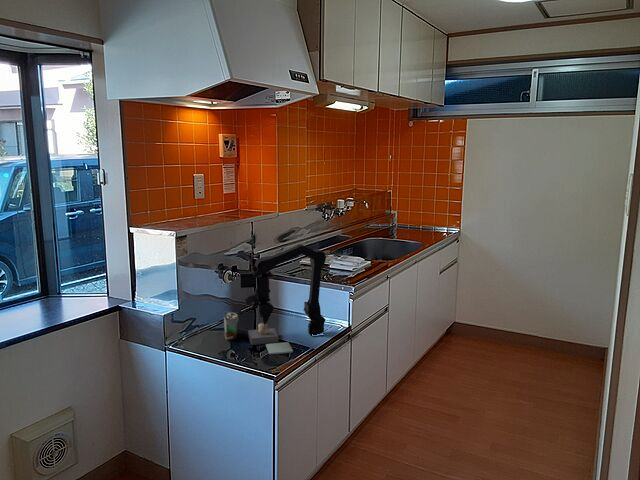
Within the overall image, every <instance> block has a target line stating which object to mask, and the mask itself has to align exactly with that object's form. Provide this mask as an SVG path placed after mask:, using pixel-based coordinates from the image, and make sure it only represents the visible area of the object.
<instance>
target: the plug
mask: <svg viewBox="0 0 640 480" xmlns="http://www.w3.org/2000/svg"><path fill="white" fill-rule="evenodd" d="M257 326H258V329H259V335H268V329H269V328H268V323H267V324H264V323H263V322H261V323H259V324H258V325H257Z"/></svg>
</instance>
